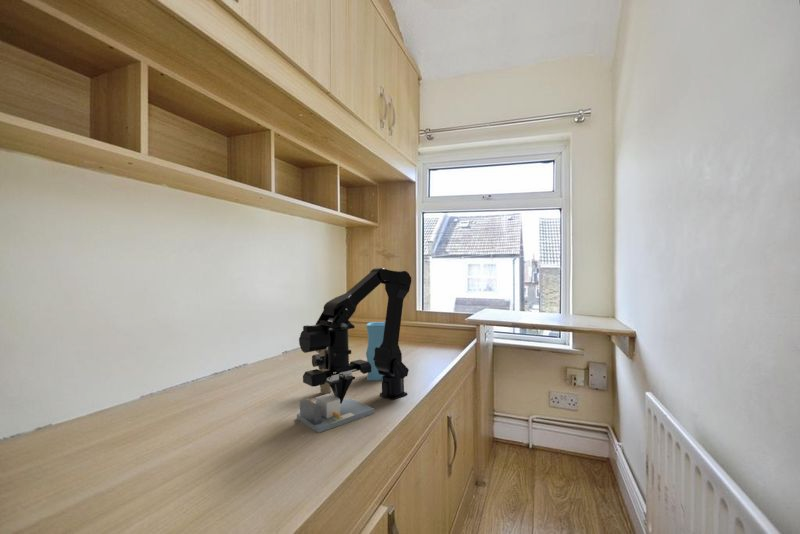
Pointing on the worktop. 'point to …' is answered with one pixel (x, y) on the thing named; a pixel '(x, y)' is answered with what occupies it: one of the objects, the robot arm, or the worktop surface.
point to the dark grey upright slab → (311, 412)
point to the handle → (325, 387)
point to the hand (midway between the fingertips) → (339, 403)
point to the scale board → (341, 415)
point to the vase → (374, 346)
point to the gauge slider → (329, 405)
